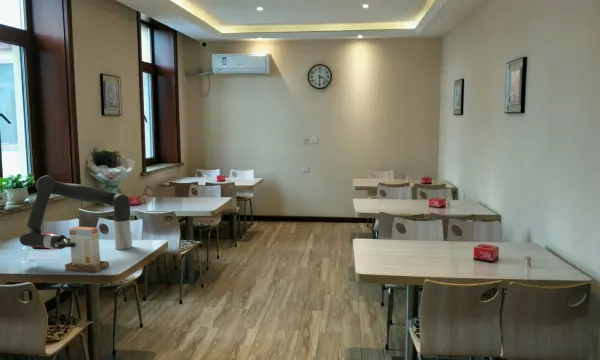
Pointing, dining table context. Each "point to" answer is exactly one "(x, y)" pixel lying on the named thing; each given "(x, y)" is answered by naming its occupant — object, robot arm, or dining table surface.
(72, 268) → the tray
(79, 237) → the cracker box
